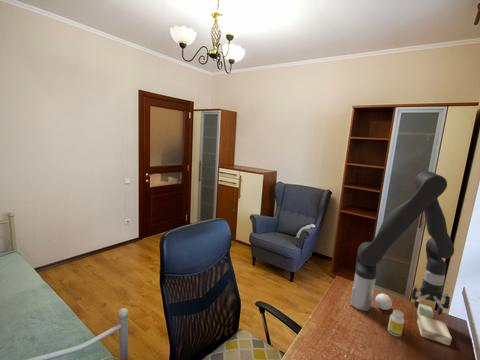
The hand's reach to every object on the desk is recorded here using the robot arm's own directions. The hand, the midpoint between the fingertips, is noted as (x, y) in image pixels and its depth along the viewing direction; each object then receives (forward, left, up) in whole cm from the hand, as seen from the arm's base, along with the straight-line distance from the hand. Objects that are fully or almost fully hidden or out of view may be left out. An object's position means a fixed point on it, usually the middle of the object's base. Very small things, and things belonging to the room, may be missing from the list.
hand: (427, 310), depth 118 cm
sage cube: (-1, 0, -4) cm, 4 cm away
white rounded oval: (-19, -4, -4) cm, 19 cm away
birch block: (+1, -10, -5) cm, 11 cm away
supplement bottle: (-15, -18, -4) cm, 24 cm away
